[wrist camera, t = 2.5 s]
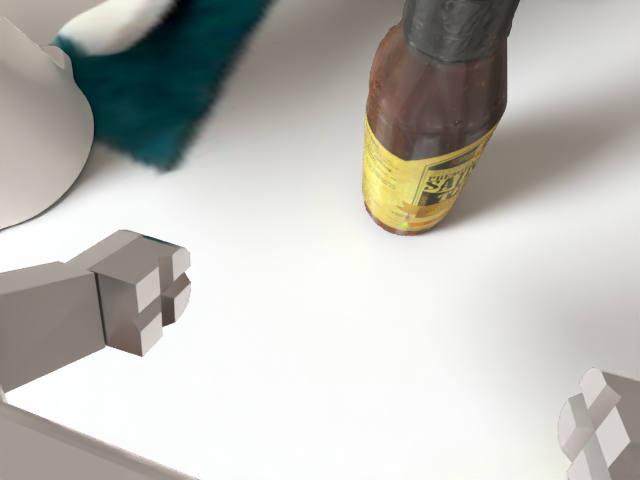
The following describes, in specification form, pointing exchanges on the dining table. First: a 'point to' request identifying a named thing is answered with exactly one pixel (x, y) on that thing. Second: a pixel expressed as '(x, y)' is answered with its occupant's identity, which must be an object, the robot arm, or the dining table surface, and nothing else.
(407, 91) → the sauce bottle
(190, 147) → the dining table surface
